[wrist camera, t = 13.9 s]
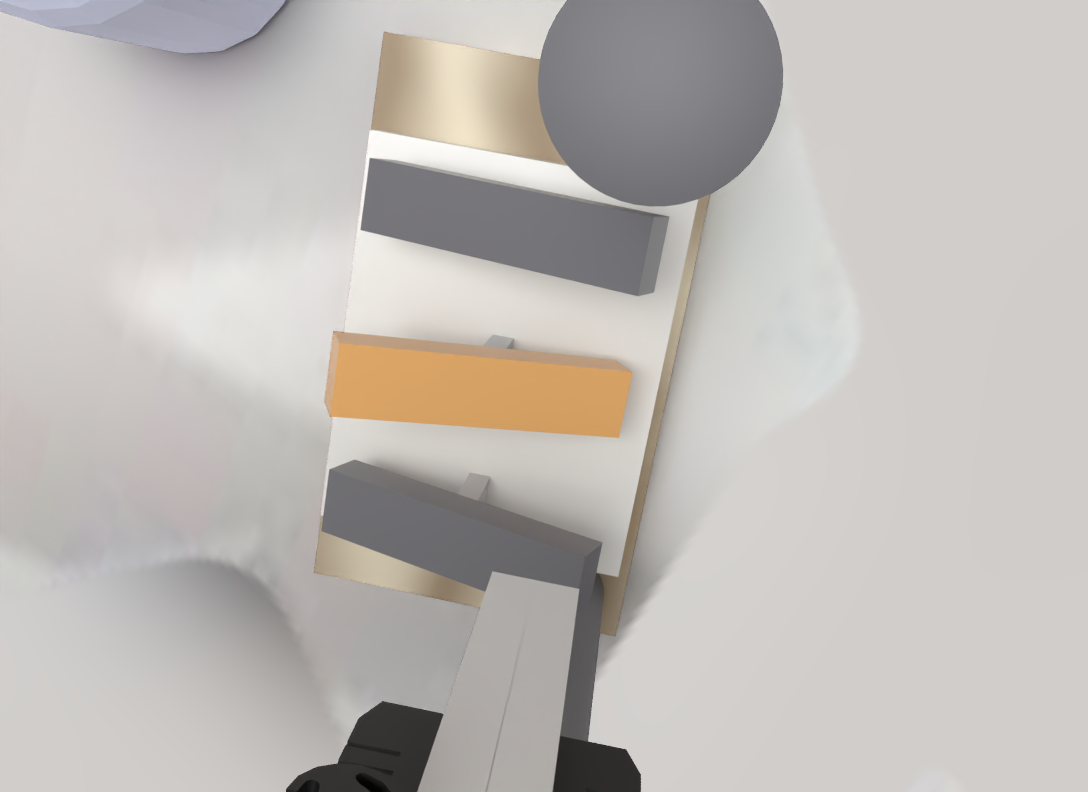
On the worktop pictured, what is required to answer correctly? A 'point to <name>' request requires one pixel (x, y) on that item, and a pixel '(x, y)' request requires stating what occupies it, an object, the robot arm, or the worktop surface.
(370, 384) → the middle paddle
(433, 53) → the board
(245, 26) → the soap bottle
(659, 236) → the front paddle
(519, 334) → the block
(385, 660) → the worktop surface
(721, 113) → the posts
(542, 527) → the bar
